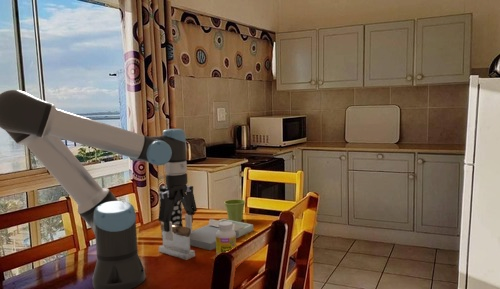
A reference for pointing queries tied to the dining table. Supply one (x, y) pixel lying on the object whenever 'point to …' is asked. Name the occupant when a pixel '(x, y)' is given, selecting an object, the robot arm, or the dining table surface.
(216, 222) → the tile left
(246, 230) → the tray
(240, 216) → the plant pot
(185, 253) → the scraper
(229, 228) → the supplement bottle
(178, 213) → the spotted tube
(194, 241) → the board
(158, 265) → the dining table surface
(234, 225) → the tile right
